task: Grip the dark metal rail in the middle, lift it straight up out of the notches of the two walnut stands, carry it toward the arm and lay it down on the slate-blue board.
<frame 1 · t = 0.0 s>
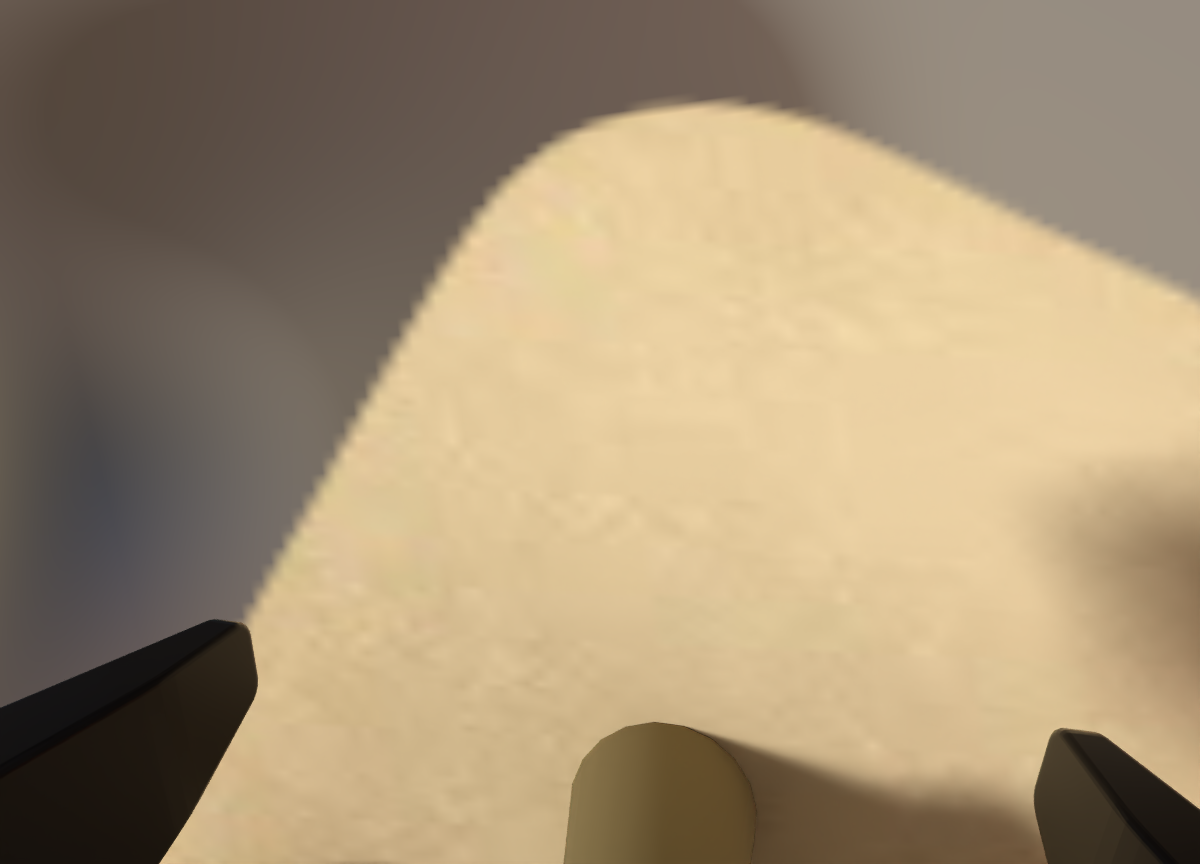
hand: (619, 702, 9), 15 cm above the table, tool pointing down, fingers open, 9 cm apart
cork: (662, 807, 26), on the table
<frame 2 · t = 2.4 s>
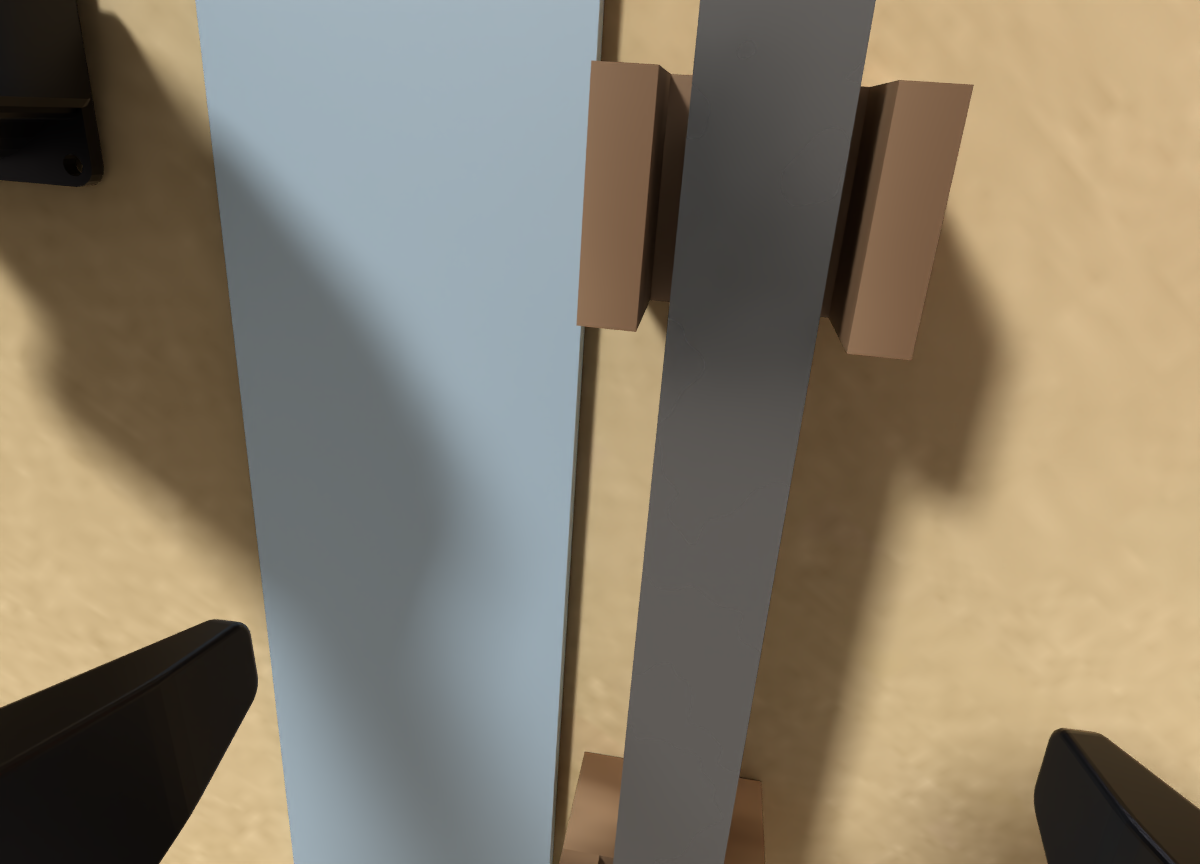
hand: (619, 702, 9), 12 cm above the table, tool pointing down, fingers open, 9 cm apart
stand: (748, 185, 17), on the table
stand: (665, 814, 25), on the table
rail: (694, 632, 18), point 3 cm above the table, touching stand, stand
mat: (414, 515, 22), on the table
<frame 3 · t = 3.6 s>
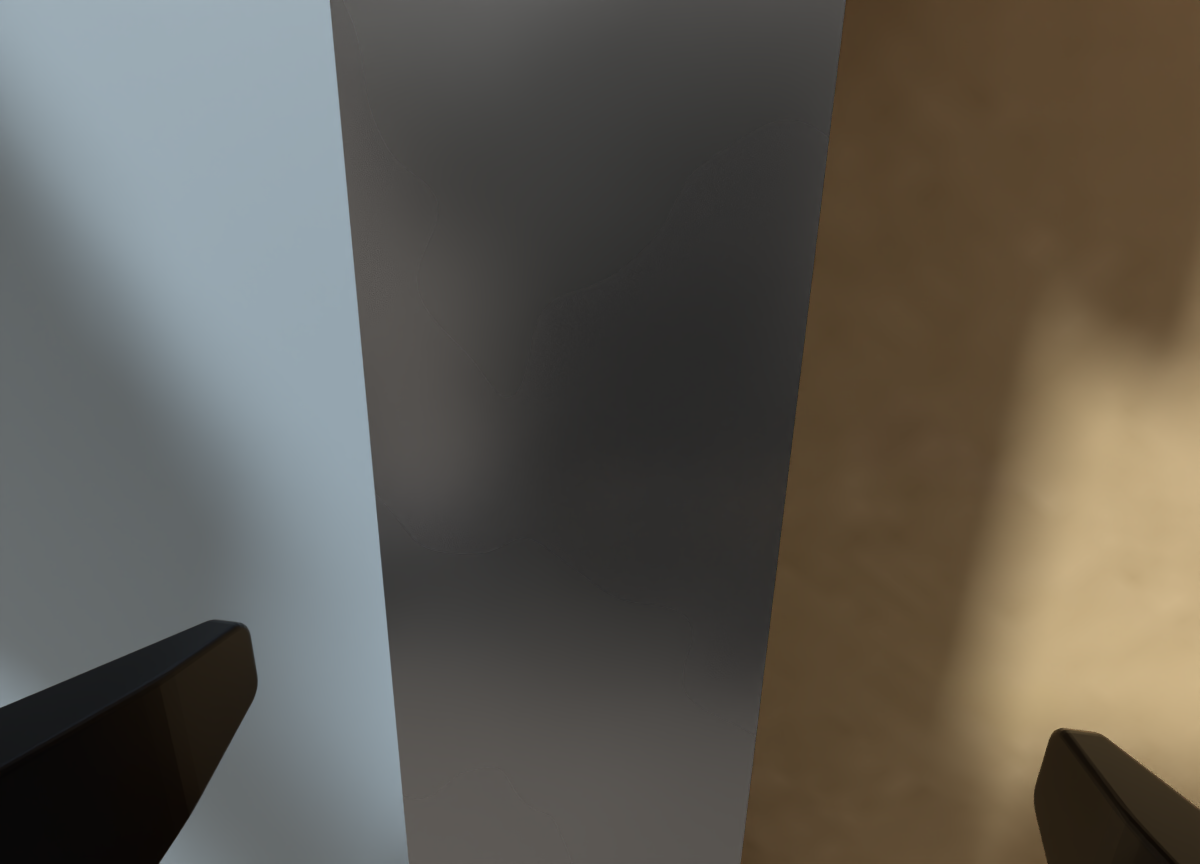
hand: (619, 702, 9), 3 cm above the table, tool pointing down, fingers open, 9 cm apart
rail: (615, 665, 8), point 3 cm above the table, touching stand, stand
mat: (141, 459, 12), on the table
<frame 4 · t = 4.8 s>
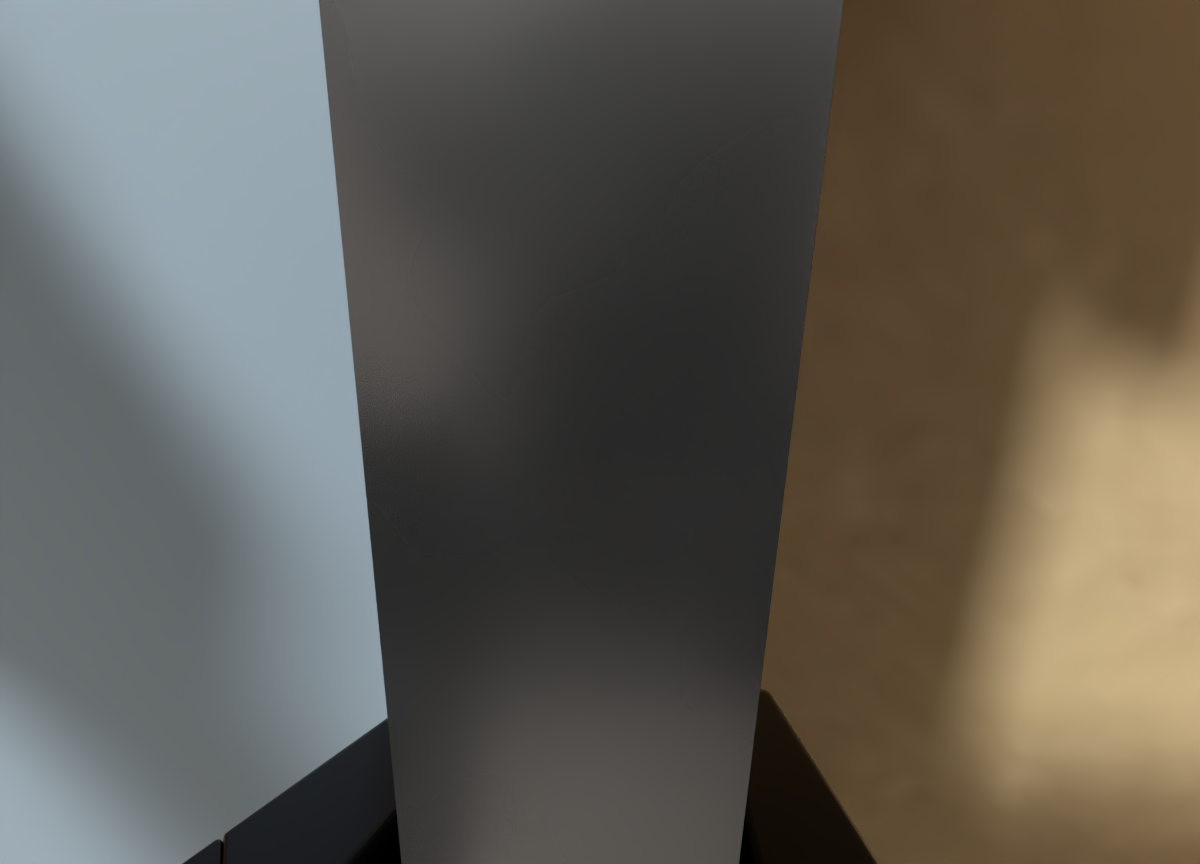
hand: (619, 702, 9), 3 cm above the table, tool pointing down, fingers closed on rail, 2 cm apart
rail: (612, 669, 8), point 3 cm above the table, touching gripper, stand, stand
mat: (136, 460, 12), on the table
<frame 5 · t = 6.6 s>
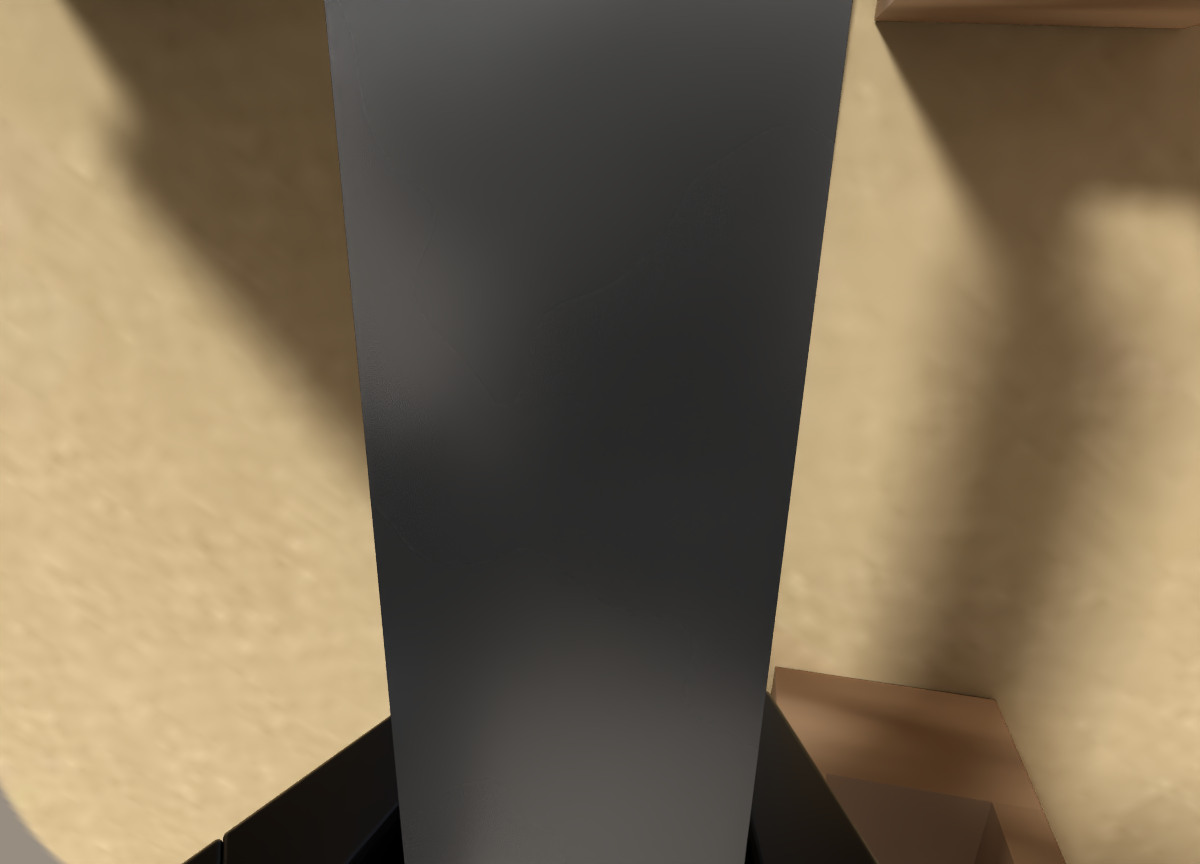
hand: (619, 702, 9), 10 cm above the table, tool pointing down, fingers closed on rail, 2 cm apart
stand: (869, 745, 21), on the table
rail: (615, 673, 8), point 11 cm above the table, touching gripper
when the fingers open (1 cm above the table, at t = 8.6 s): rail drops 1 cm, resting on mat.
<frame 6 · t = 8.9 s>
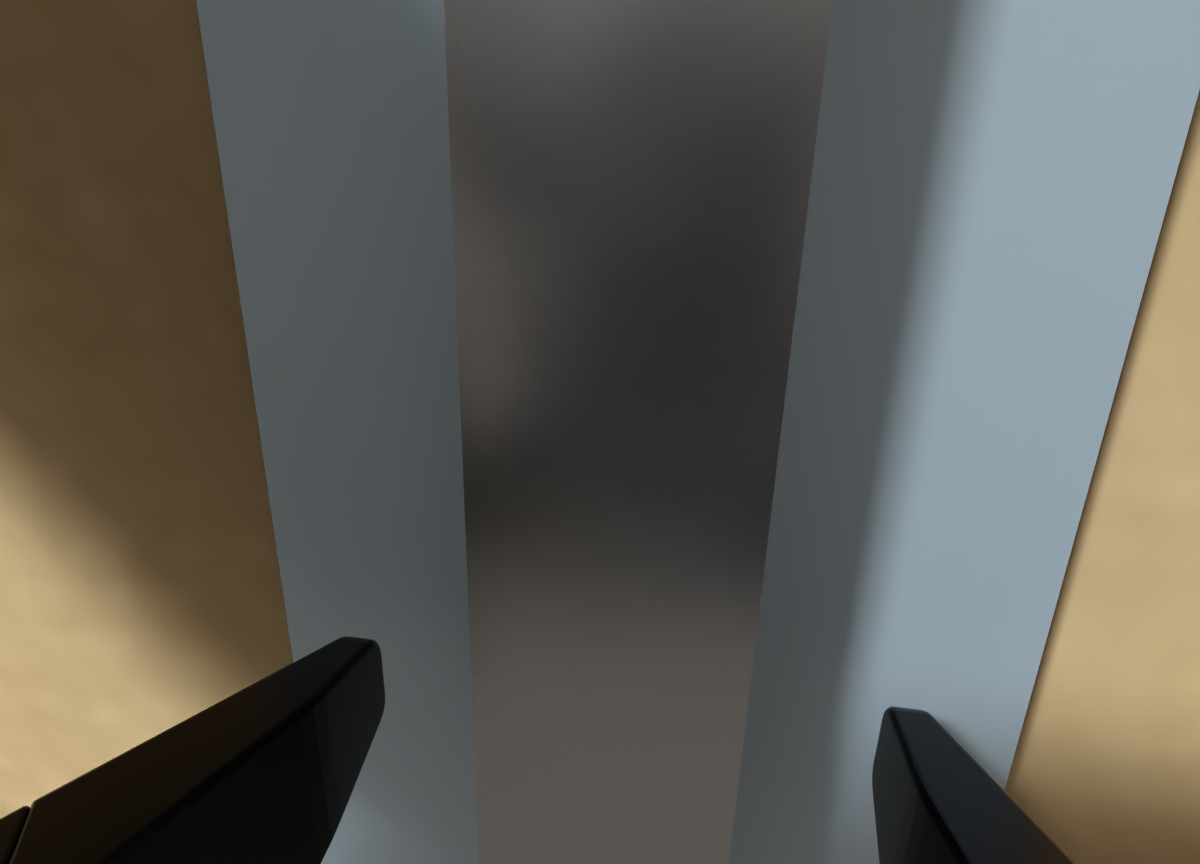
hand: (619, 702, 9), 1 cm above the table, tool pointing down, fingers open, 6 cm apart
rail: (637, 591, 9), point 1 cm above the table, touching mat
mat: (640, 563, 10), on the table
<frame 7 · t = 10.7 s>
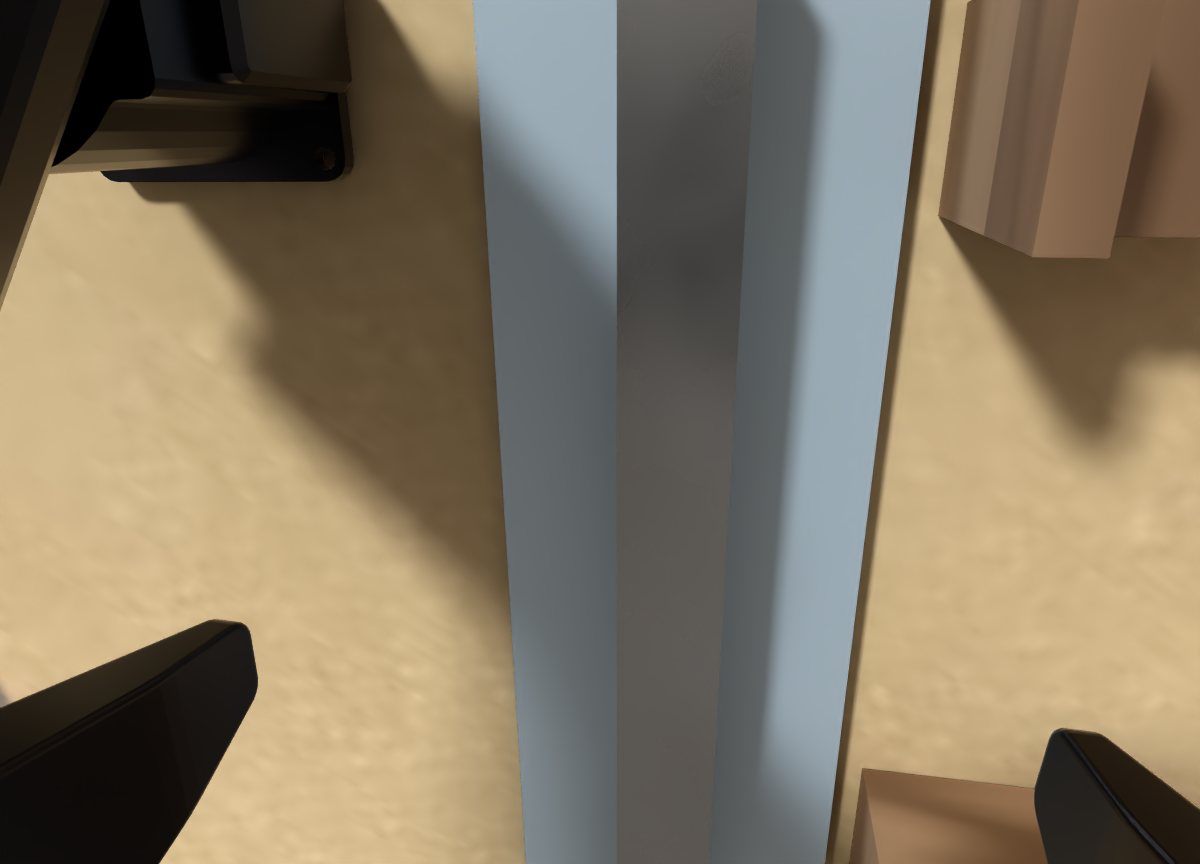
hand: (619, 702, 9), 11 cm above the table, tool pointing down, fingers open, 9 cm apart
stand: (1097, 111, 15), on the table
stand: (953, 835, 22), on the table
rail: (679, 527, 20), point 1 cm above the table, touching mat
mat: (679, 515, 20), on the table
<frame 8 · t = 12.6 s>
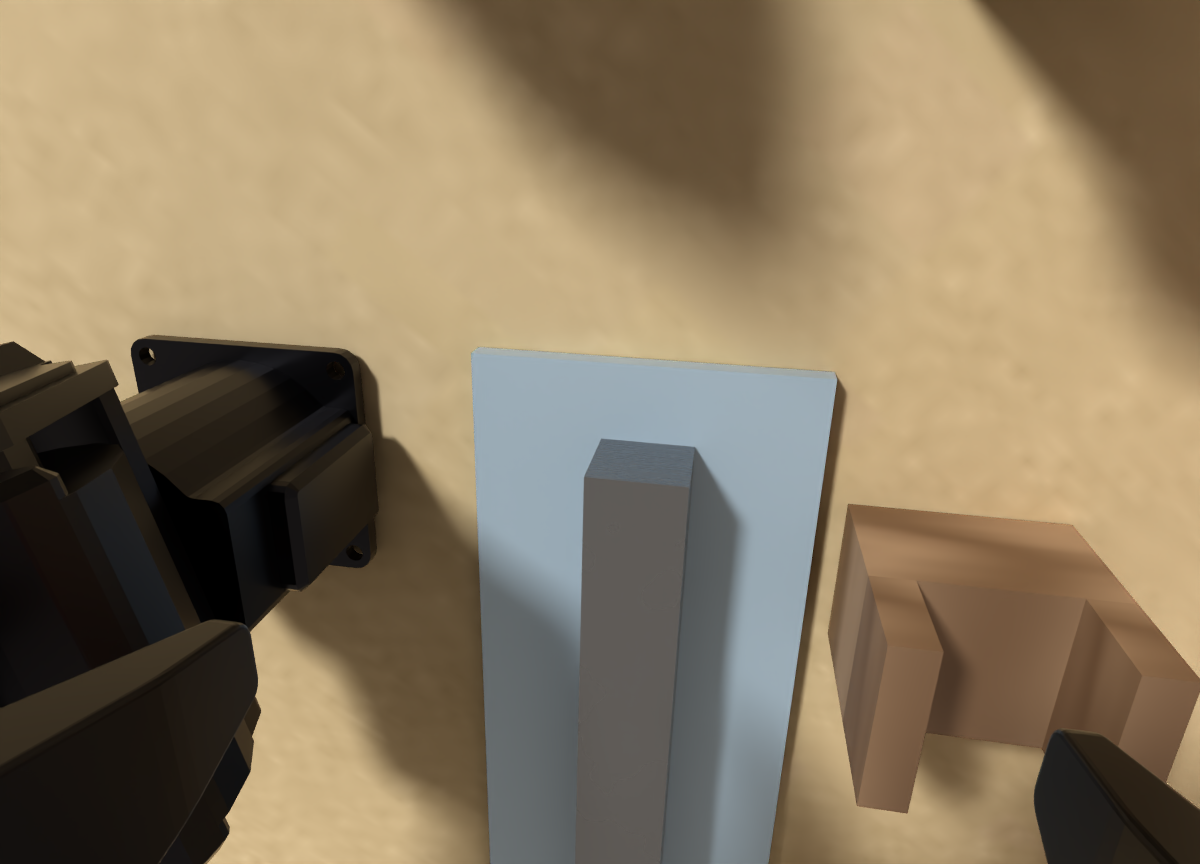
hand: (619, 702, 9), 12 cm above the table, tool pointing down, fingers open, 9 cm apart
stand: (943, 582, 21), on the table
rail: (626, 823, 25), point 1 cm above the table, touching mat
mat: (628, 807, 25), on the table
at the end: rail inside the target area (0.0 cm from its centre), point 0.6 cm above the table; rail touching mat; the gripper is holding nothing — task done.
